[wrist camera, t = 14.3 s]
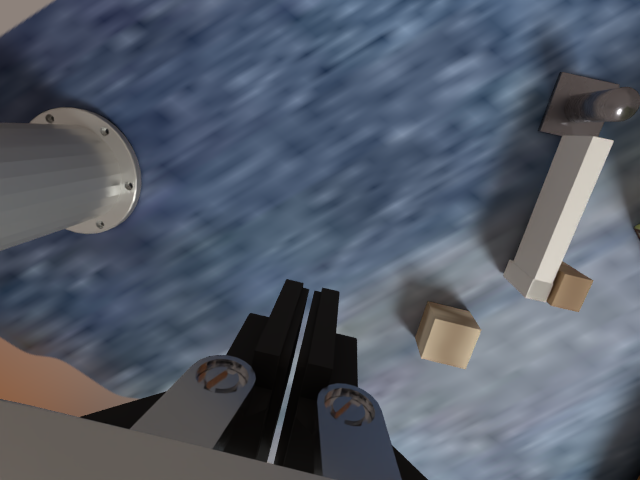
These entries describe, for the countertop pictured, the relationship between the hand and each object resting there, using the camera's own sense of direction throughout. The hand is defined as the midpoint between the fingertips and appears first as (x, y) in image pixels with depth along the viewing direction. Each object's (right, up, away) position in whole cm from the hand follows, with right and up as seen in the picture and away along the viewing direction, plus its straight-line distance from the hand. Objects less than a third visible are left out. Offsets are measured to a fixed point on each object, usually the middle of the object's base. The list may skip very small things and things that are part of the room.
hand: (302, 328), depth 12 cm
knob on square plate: (+23, +14, +22) cm, 35 cm away
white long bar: (+21, +5, +25) cm, 33 cm away
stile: (+22, 0, +26) cm, 35 cm away
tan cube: (+14, -6, +29) cm, 33 cm away
